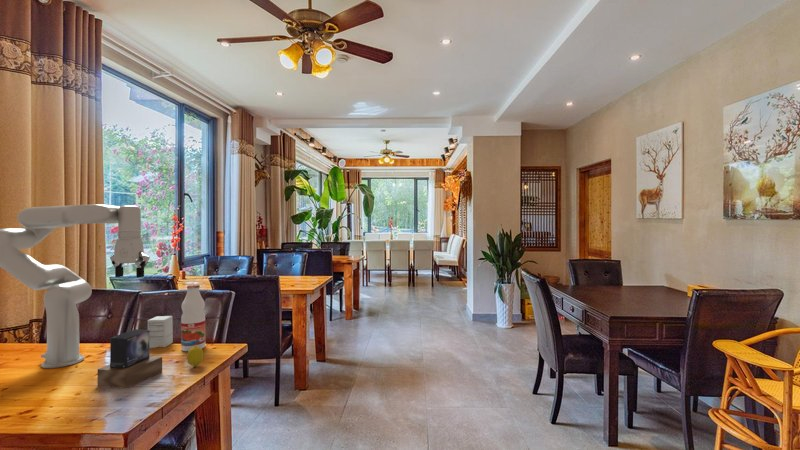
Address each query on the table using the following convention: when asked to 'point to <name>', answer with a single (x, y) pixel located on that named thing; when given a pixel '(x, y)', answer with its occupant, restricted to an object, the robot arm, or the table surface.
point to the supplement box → (160, 331)
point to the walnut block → (129, 373)
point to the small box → (129, 348)
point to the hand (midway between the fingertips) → (129, 277)
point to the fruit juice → (193, 319)
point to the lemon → (195, 356)
